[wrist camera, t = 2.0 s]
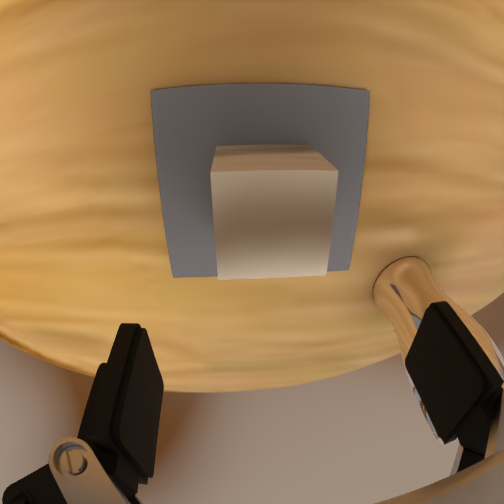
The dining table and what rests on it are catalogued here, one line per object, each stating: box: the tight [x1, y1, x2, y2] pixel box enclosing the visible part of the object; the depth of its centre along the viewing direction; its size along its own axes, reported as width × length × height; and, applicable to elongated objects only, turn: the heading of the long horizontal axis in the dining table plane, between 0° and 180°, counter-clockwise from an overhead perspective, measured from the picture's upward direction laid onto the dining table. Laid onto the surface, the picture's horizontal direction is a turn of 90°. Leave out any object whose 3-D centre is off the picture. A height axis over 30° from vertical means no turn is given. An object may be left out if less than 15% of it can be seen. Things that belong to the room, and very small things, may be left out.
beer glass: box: [373, 257, 504, 444], centre depth 20 cm, size 7×7×15 cm
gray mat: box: [151, 83, 370, 278], centre depth 21 cm, size 14×14×1 cm
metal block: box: [210, 144, 338, 280], centre depth 18 cm, size 6×6×6 cm
